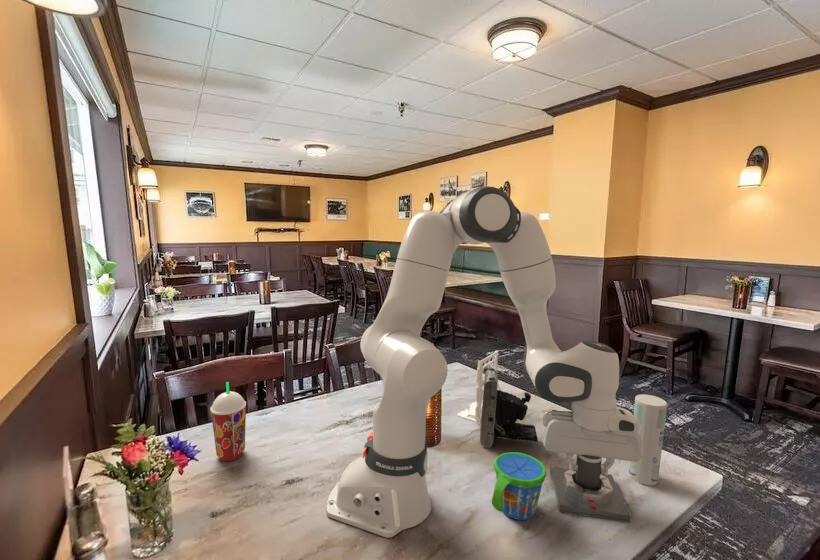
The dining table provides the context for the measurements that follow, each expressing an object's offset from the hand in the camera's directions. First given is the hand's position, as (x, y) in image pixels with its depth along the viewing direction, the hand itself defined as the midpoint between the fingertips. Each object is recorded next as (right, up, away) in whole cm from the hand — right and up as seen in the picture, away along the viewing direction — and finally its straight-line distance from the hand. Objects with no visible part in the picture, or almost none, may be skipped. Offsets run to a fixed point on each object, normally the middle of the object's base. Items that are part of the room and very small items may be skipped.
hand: (588, 471), depth 89 cm
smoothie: (-87, -3, +14) cm, 88 cm away
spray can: (+17, -5, +7) cm, 19 cm away
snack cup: (-17, -6, -4) cm, 19 cm away
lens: (0, -3, +1) cm, 3 cm away
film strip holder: (-16, 0, +39) cm, 42 cm away
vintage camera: (-13, -3, +23) cm, 26 cm away
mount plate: (0, -6, +1) cm, 6 cm away
